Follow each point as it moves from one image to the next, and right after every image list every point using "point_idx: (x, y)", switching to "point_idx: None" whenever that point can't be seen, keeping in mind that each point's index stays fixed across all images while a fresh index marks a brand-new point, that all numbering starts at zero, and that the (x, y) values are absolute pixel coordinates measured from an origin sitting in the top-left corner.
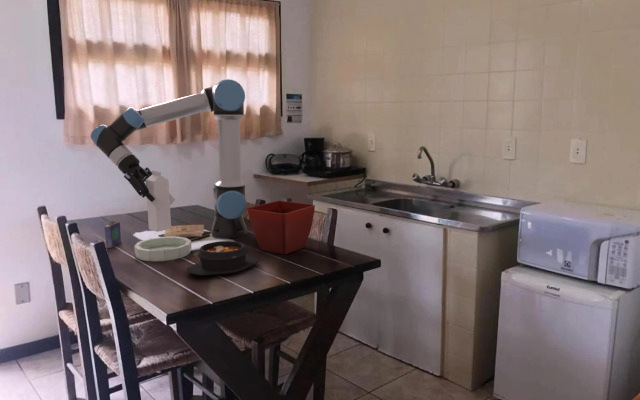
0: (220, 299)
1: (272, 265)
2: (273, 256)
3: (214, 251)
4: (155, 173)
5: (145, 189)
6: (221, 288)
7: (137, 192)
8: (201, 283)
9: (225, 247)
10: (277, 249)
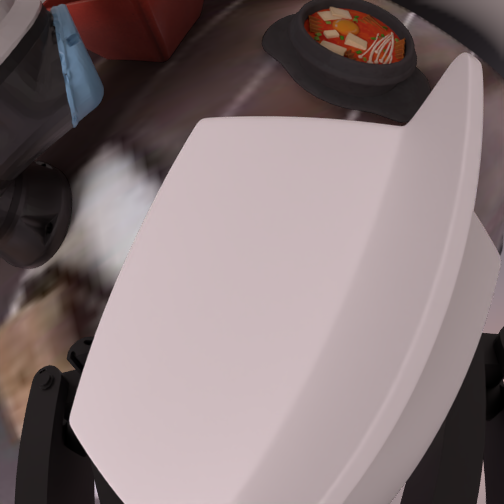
0: (458, 44)
1: (277, 8)
2: (215, 24)
3: (360, 52)
4: (278, 494)
5: (480, 361)
6: (429, 48)
7: (501, 401)
8: (432, 81)
9: (319, 39)
10: (195, 16)
